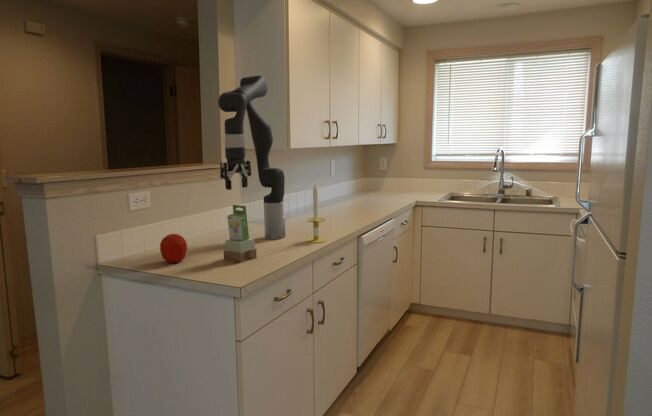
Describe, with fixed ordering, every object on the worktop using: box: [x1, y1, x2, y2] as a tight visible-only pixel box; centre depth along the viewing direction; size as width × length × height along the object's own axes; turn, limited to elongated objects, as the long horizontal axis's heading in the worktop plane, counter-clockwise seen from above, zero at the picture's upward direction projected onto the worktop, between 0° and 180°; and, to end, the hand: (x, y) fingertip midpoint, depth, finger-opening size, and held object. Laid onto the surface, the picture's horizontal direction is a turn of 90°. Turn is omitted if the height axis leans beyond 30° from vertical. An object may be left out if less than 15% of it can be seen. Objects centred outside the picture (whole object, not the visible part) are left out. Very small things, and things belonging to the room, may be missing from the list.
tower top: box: [224, 237, 256, 253], centre depth 182 cm, size 8×8×4 cm
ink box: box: [226, 204, 250, 241], centre depth 180 cm, size 7×4×13 cm, turn 58°
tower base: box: [223, 248, 257, 264], centre depth 182 cm, size 9×9×4 cm
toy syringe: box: [305, 183, 328, 244], centre depth 212 cm, size 10×10×27 cm
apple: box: [159, 233, 188, 264], centre depth 179 cm, size 10×10×12 cm
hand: (236, 188), depth 179 cm, fingers open, 8 cm apart
